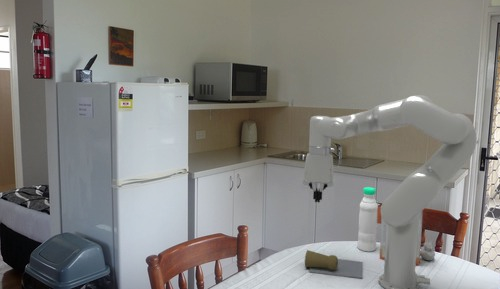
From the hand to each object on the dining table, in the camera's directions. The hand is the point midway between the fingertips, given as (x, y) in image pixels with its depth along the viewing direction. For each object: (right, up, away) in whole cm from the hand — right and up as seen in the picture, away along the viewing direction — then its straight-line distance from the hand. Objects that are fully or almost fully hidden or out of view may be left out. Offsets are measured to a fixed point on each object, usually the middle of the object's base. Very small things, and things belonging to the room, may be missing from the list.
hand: (317, 201), depth 153 cm
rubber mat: (+7, -24, 0) cm, 25 cm away
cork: (-4, -21, 0) cm, 21 cm away
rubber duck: (+43, -23, +9) cm, 50 cm away
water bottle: (+23, -22, +19) cm, 37 cm away
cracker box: (+32, -23, +8) cm, 41 cm away
